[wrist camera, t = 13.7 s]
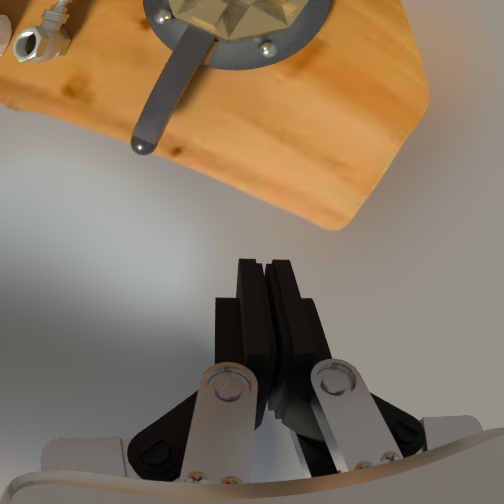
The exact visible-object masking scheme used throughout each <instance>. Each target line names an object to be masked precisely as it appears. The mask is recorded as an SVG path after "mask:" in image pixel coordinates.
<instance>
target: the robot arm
mask: <svg viewBox="0 0 504 504" xmlns="http://www.w3.org/2000/svg"><path fill="white" fill-rule="evenodd" d="M215 305H216V307H215V309H216V310H215V365H213V366H211V367H210V368H208V369H207V370H206V372H204V374H203V376H202V378H201V381H200V386H199V390H198V391H196V392H195V393H194V394H192V395H191V396H190V397H188V398H187V399H186V400H185V401H183V402H182V403H180V404H179V405H178V406H176V407H175V408H173V409H172V410H171V411H169V412H168V413H167V414H165V415H164V416H162V417H161V418H160V419H158V420H157V421H155V422H154V423H153V424H151V425H150V426H148V427H147V428H145V429H144V430H142V431H141V432H140V433H138V434H137V435H136V436H135V437H134V438H124V439H121V438H120V436H116V437H98V438H59V439H53V440H51V441H50V442H48V443H47V444H46V445H45V447H44V448H43V450H42V454H41V471H38V472H32V473H28V474H24V475H21V476H19V477H17V478H15V479H13V480H12V481H11V482H10V483H9V484H8V485H7V486H6V488H5V490H4V492H3V494H2V496H1V499H0V504H504V428H495V429H489V430H485V431H483V429H482V427H481V424H480V423H479V421H478V420H477V419H476V418H474V417H472V416H467V415H464V416H448V417H423V418H422V419H421V420H417V419H416V418H415V417H413V416H411V415H409V414H408V413H406V412H404V411H402V410H400V409H399V408H397V407H395V406H393V405H391V404H390V403H388V402H386V401H384V400H382V399H381V398H379V397H377V396H375V395H374V394H372V393H370V392H369V390H368V388H367V387H366V385H365V383H364V381H363V379H362V377H361V375H360V374H359V372H358V371H357V370H356V368H355V367H354V366H352V365H351V364H350V363H348V362H346V361H343V360H339V359H332V356H331V353H330V350H329V347H328V344H327V340H326V337H325V334H324V331H323V328H322V325H321V322H320V319H319V316H318V313H317V310H316V307H315V304H314V301H313V299H311V298H301V296H300V293H299V289H298V286H297V283H296V279H295V276H294V272H293V269H292V266H291V263H290V260H272V264H266V268H265V276H264V272H263V267H262V264H261V263H256V259H239V263H238V276H237V291H236V298H216V303H215ZM266 403H268V409H269V410H274V412H275V419H282V423H283V424H284V425H286V426H287V427H288V428H290V435H291V438H292V441H293V444H294V447H295V450H296V452H297V455H298V458H299V461H300V464H301V467H302V469H303V472H304V475H305V478H306V479H298V480H289V481H279V482H266V483H250V474H251V462H252V451H253V440H254V431H255V430H256V429H257V428H258V427H259V426H260V425H261V422H262V419H263V415H264V411H265V407H266Z"/></svg>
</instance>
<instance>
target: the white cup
mask: <svg viewBox="0 0 504 504" xmlns="http://www.w3.org/2000/svg"><path fill="white" fill-rule="evenodd" d="M11 34H12V28H11V21H10V20H9V18H8V17H7V15H3V14H0V57H1V56H2V55H3V53H4V52H5V50H6V48H7V46H8V45H9V41H10V38H11Z"/></svg>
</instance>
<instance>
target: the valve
mask: <svg viewBox="0 0 504 504" xmlns="http://www.w3.org/2000/svg"><path fill="white" fill-rule="evenodd" d="M68 2H70V3H71V2H72V0H58V1H57V3H56V4H55V5H52V6H51V8H50V10H46V9H45V10H44V13H43V15H42V17H41V18H42V19H43V21H42V23H41V25H40V26H32V27H29V28H27V29H24V30H22V31H20V32H19V33H18V35H17V37H16V40H15V42H14V45H13V49H12V51H13V53H14V55H15V57H16V58H17V59H18V61H19V62H28V61H32V62H34V63H43V62H46V61H48V60H52V59H55V58H58V57H61V56H64V55H65V54H66V52H67V49H68V47H69V45H70V42H71V38H70V37H69V35H68V34H67V32H66V31H65V30H64V29H61V26H62V24H63V23H66V22H67V19H68V17H69V15H68V14H66V11H67V9H68V8H66V5H67V3H68Z"/></svg>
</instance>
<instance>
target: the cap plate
mask: <svg viewBox="0 0 504 504" xmlns="http://www.w3.org/2000/svg"><path fill="white" fill-rule="evenodd" d="M143 6H144V10H145V14H146V17H147V20H148V22H149V24H150V26H151V28H152V29H153V31H154V33H155V34H156V35H157V36H158V38H159V39H160V40H161V41H162V42H163V43H164V44H165V45H166V46H167V47H168V48H170V49H171V50H172V51H174V49H175V47H176V46H177V44H178V42H179V41H180V39H181V37H182V35H183V34H184V32H185V31H186V29H187V26H185V25H182V24H181V23H180V22H179V21H178V20H177V19H176V18H175V17H174V16H173V13H172V10H171V7H170V4H169V1H168V0H143ZM329 6H330V0H309V1H308V2H307V4H306V5H305V6H304V8H303V9H302V10H301V12H300V13H299V15H298V16H297V17H296V19H295V20H294V22H293V23H292V25H291V26H290V27H289V28H287V29H286V30H284V31H283V32H281V33H279V34H275V35H270V36H265V37H260V38H256V39H251V40H247V41H243V42H239V43H235V44H231V45H229V43H228V45H227V44H225V43H223V42H220V41H218V40H216V39H215V40H214V42H213V43H212V45H211V47H210V48H209V50H208V51H207V53H206V55H205V56H204V58H203V60H202V61H201V63H200V65H203V66H207V67H211V68H216V69H224V70H246V69H254V68H260V67H264V66H268V65H271V64H275V63H277V62H279V61H282V60H284V59H286V58H288V57H290V56H291V55H293V54H295V53H297V52H298V51H299V50H301V49H302V48H303V47H305V46H306V45H307V44H308V43H309V42H310V41H311V40H312V39H313V38H314V37H315V35H316V34H317V33H318V32H319V30H320V28H321V27H322V25H323V23H324V21H325V19H326V16H327V14H328V11H329Z"/></svg>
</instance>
